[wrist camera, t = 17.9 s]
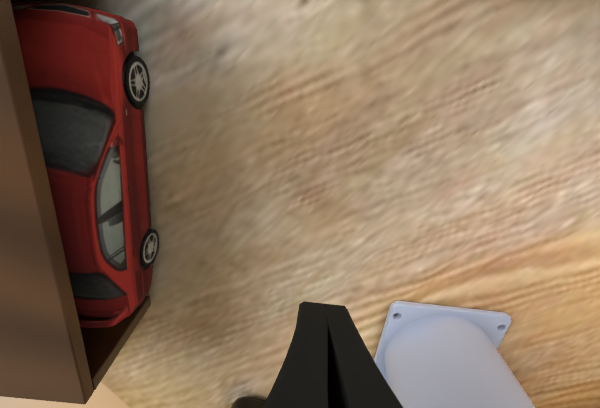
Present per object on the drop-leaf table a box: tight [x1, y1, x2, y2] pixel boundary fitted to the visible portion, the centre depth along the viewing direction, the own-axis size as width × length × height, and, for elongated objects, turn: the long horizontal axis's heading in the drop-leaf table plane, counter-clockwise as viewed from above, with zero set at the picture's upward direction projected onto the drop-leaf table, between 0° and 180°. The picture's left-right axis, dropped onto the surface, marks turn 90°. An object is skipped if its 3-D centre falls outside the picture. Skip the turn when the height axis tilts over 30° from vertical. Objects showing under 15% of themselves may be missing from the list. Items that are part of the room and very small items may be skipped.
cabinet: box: [0, 0, 150, 404], centre depth 14 cm, size 20×8×7 cm, turn 173°
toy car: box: [12, 2, 159, 328], centre depth 15 cm, size 6×15×5 cm, turn 169°
